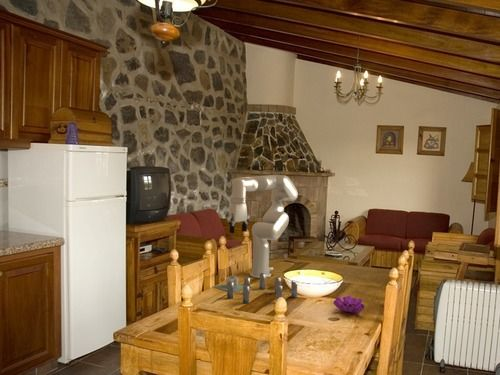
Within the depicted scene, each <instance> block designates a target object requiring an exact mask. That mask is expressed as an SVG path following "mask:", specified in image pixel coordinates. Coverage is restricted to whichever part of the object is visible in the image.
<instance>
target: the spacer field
mask: <svg viewBox="0 0 500 375" xmlns="http://www.w3.org/2000/svg"><path fill="white" fill-rule="evenodd" d="M281 279H282V277H280V276H275V277H274V293H275V300H276V299H277V298H279V297H282V298H283V285H282V283H281V282H282V280H281ZM293 281H294V280H291V282H290V284H291V285H290V286H291V287H290V298H291V299H297V298H298V283H297V284H296V282H293ZM258 283H259V286H258V289H259V290H260V291H261V290H262V291H263V290H266V278H265V274H264V273H260V278H259V282H258ZM243 285H244V286H243V290H242V304H245V305H246V304H247V305H248V304H250V292H251V290H250V289H251V288H250V287H251V277H249V276H245V277H244V279H243ZM233 287H234V282H233V281H228V282H227V291H226V292H227V294H226V298H227V299H230V300H233V299H234V293H233Z"/></svg>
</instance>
